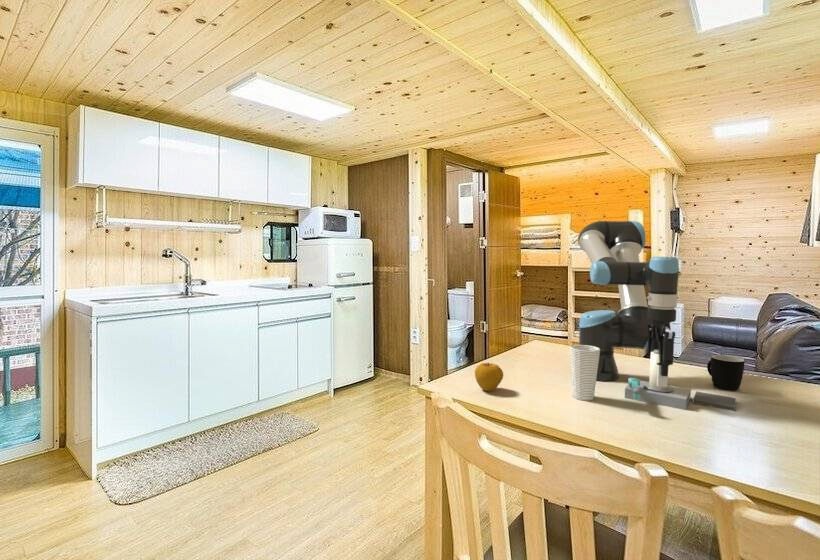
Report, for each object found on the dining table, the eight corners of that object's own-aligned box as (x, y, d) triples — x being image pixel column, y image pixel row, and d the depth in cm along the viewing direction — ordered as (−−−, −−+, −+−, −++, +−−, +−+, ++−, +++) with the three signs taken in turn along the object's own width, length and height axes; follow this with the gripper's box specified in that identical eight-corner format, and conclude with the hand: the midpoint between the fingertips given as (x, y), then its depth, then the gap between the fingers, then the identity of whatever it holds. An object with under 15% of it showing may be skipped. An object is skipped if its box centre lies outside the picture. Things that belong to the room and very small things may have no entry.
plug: (640, 398, 133) (642, 351, 132) (645, 392, 140) (647, 346, 139) (670, 404, 128) (673, 355, 127) (674, 397, 135) (676, 350, 134)
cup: (597, 394, 137) (599, 345, 136) (599, 403, 129) (601, 351, 128) (568, 391, 139) (569, 343, 138) (568, 400, 131) (570, 349, 130)
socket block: (624, 397, 134) (625, 385, 134) (632, 388, 144) (633, 376, 143) (685, 409, 124) (686, 396, 124) (690, 398, 134) (691, 386, 134)
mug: (749, 392, 141) (751, 361, 140) (725, 393, 140) (727, 361, 139) (718, 381, 153) (720, 352, 152) (695, 381, 151) (697, 353, 151)
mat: (692, 402, 130) (693, 399, 130) (696, 394, 138) (696, 391, 138) (734, 410, 124) (734, 407, 124) (735, 401, 132) (735, 398, 132)
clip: (627, 382, 137) (628, 373, 137) (639, 383, 135) (639, 374, 135) (630, 399, 121) (631, 389, 121) (643, 400, 120) (644, 390, 120)
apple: (505, 388, 143) (506, 360, 142) (499, 396, 135) (499, 367, 134) (478, 384, 146) (479, 357, 146) (470, 391, 138) (471, 364, 138)
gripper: (637, 303, 142) (634, 374, 143) (661, 311, 124) (657, 391, 125) (662, 304, 140) (658, 375, 142) (690, 312, 123) (685, 393, 124)
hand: (658, 383), depth 134 cm, fingers open, 5 cm apart
